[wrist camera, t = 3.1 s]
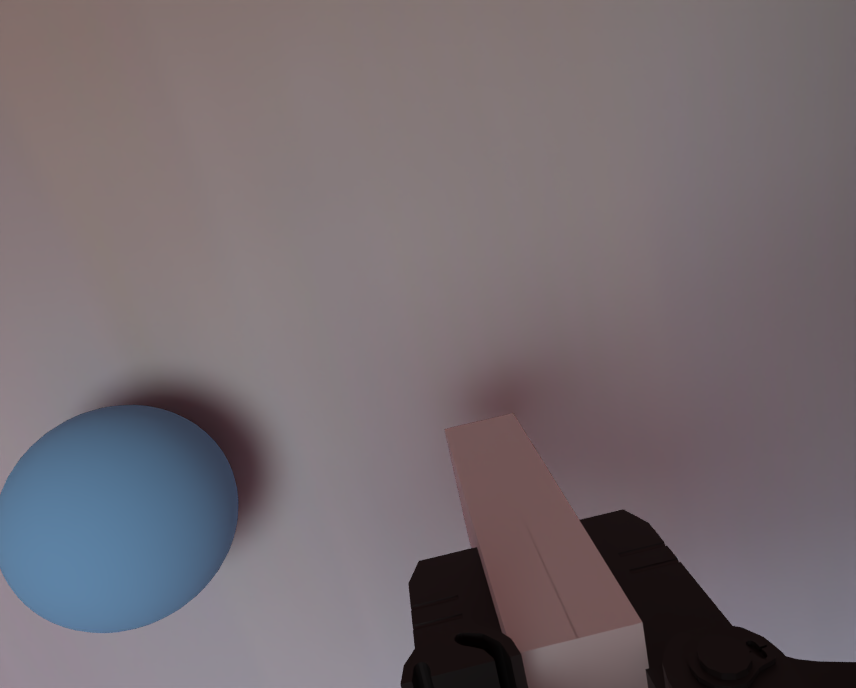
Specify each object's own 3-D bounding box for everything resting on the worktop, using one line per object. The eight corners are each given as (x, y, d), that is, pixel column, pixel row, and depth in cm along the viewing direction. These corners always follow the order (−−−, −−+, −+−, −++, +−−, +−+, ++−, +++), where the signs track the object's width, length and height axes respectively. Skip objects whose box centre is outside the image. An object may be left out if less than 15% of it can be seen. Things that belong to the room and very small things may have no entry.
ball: (225, 358, 18) (160, 433, 13) (277, 525, 19) (239, 656, 14) (35, 401, 18) (-111, 495, 13) (101, 566, 19) (-4, 713, 14)
